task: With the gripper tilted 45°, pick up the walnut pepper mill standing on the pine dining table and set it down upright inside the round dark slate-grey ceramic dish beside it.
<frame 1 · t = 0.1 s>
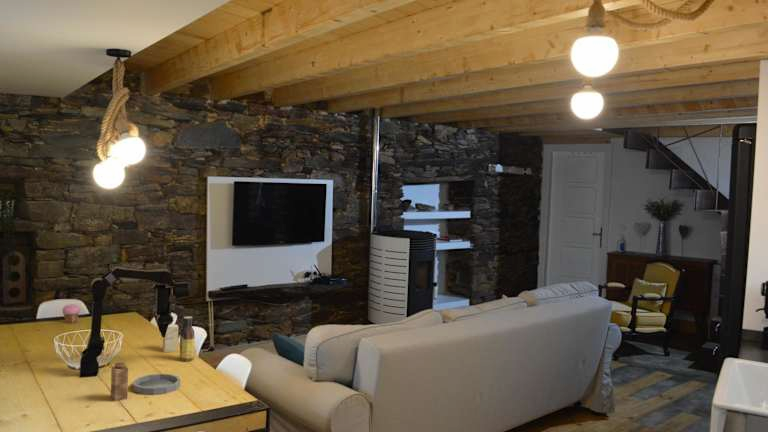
hand: (162, 334, 256), 15 cm above the table, tool pointing down, fingers open, 9 cm apart
slate dish: (156, 387, 234), on the table
cupcake: (71, 322, 326), on the table
sauce bottle: (186, 360, 270), on the table
skincare box: (170, 351, 282), on the table
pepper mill: (119, 398, 220), on the table
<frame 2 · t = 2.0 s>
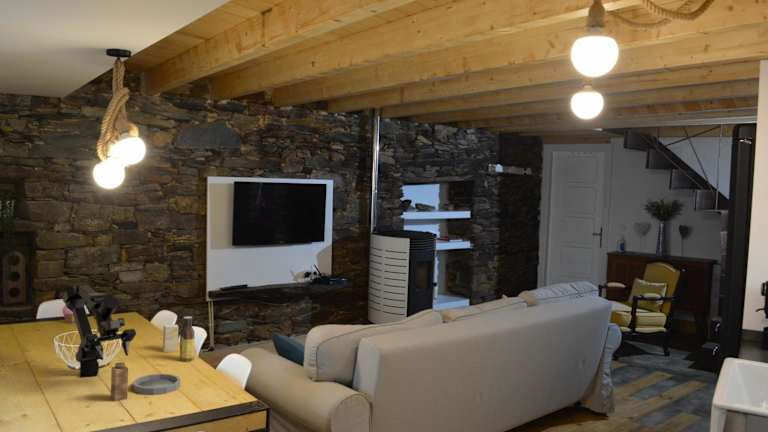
hand: (115, 357, 226), 13 cm above the table, tool tilted 45°, fingers open, 9 cm apart
nothing on the table moved.
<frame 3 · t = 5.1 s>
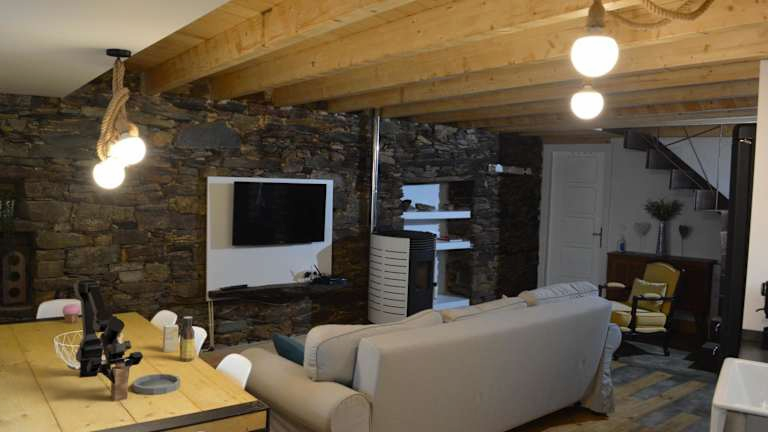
hand: (120, 381, 219), 7 cm above the table, tool tilted 45°, fingers closed on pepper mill, 4 cm apart
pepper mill: (119, 398, 220), on the table, touching gripper
everything else where it was.
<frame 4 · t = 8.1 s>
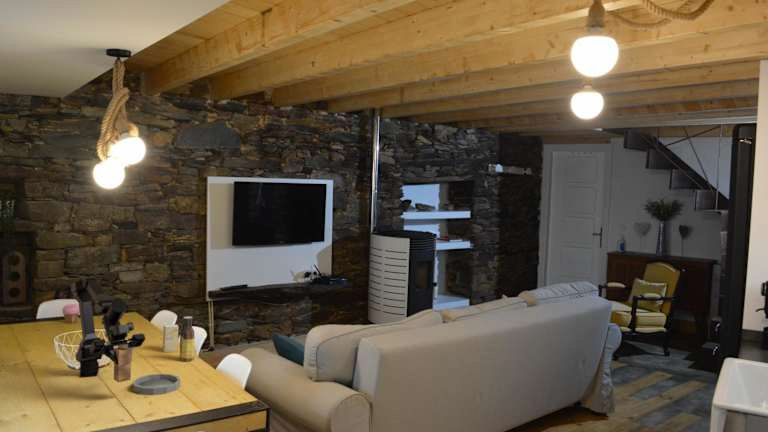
hand: (124, 363, 219), 13 cm above the table, tool tilted 45°, fingers closed on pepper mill, 4 cm apart
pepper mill: (122, 379, 221), point 7 cm above the table, touching gripper
everything else where it was.
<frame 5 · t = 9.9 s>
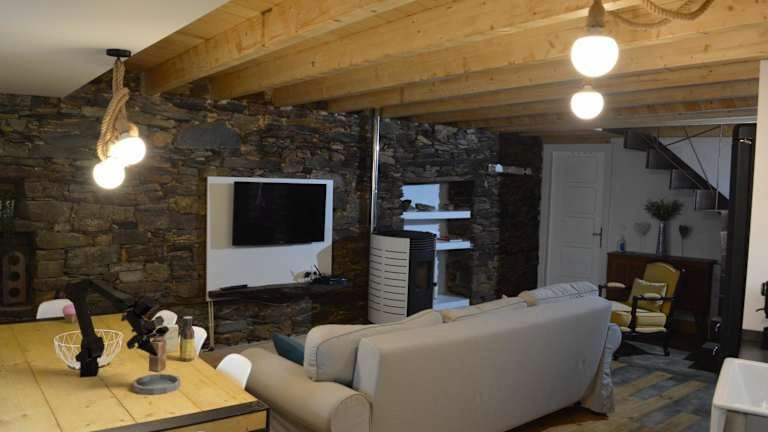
hand: (160, 354, 233), 13 cm above the table, tool tilted 45°, fingers closed on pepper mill, 4 cm apart
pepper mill: (157, 370, 233), point 7 cm above the table, touching gripper
everything else where it was.
when the fingers open (9 cm above the table, at t = 11.2 s): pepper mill drops 1 cm, resting on slate dish.
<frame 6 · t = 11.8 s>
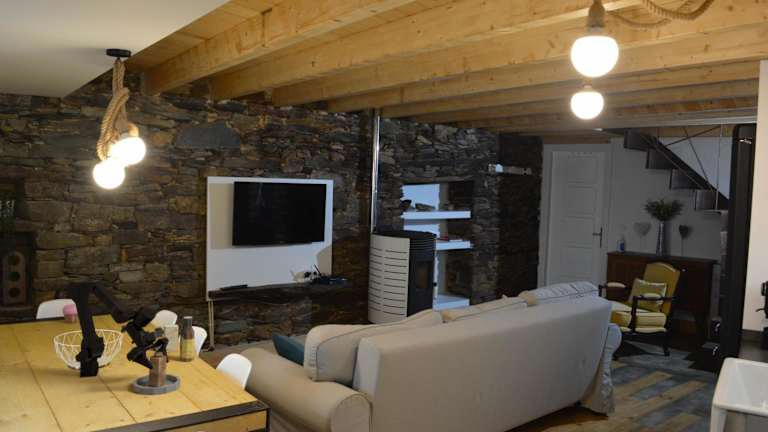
hand: (160, 365, 233), 9 cm above the table, tool tilted 45°, fingers open, 9 cm apart
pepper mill: (156, 385, 234), point 1 cm above the table, touching slate dish
everything else where it was.
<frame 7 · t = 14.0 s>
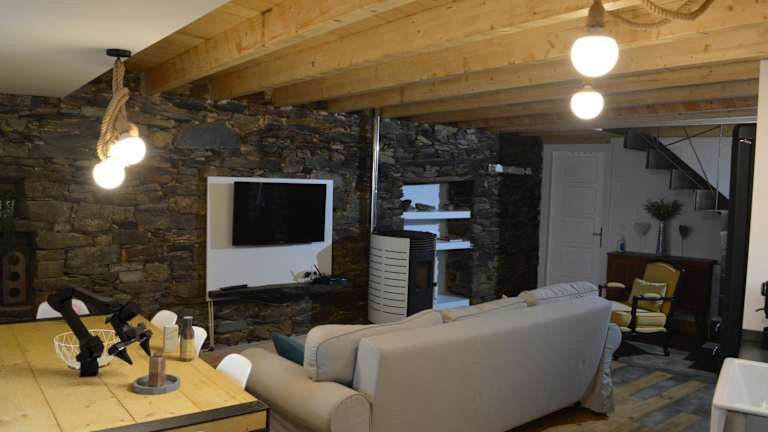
hand: (141, 360, 238), 9 cm above the table, tool tilted 40°, fingers open, 9 cm apart
nothing on the table moved.
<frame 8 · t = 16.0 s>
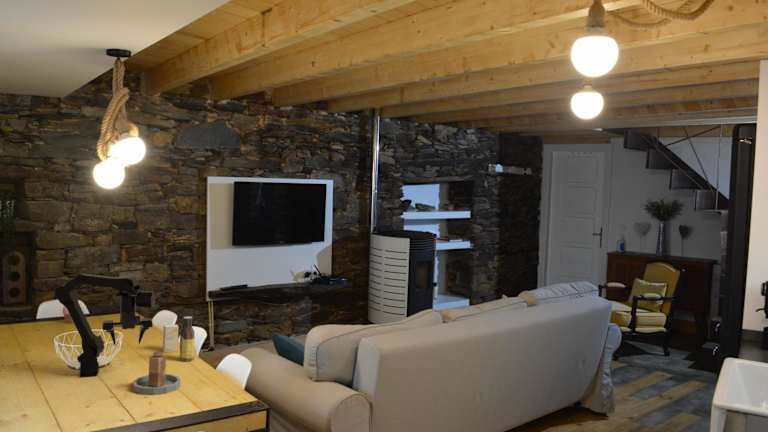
hand: (127, 344, 245), 13 cm above the table, tool pointing down, fingers open, 9 cm apart
nothing on the table moved.
at the end: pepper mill inside the target area on the slate dish (0.0 cm from its centre), point 0.6 cm above the slate dish's base; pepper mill tilted 0°; the gripper is holding nothing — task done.
